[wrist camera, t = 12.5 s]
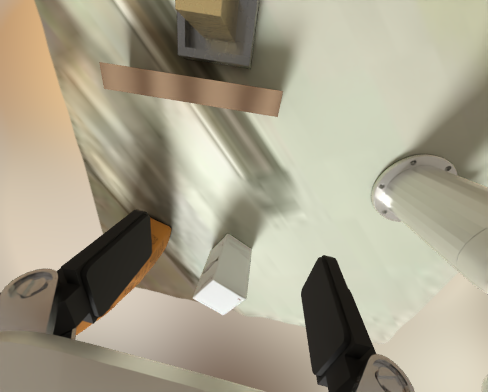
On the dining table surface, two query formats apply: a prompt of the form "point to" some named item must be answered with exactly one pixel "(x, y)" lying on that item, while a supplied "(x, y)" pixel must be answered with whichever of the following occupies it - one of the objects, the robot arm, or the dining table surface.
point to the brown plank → (191, 89)
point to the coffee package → (159, 243)
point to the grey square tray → (219, 50)
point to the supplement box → (225, 276)
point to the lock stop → (211, 17)
